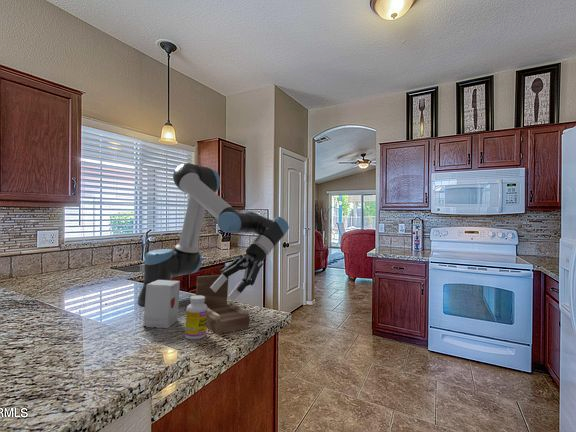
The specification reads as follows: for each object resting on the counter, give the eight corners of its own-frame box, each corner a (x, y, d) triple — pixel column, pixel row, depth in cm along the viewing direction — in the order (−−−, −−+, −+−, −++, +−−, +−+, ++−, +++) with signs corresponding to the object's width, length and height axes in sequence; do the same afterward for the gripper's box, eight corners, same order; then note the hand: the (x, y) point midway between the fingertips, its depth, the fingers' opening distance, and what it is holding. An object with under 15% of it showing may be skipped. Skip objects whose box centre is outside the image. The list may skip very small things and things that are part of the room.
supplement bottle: (198, 341, 92) (200, 300, 92) (180, 338, 93) (182, 298, 94) (209, 334, 98) (211, 296, 98) (192, 331, 100) (194, 293, 100)
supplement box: (168, 329, 101) (170, 285, 101) (142, 327, 101) (145, 284, 101) (178, 320, 110) (180, 280, 110) (155, 318, 110) (157, 279, 110)
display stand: (194, 317, 113) (196, 276, 114) (224, 312, 122) (226, 274, 122) (216, 334, 98) (219, 286, 99) (249, 326, 107) (251, 283, 107)
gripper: (285, 260, 102) (246, 310, 93) (247, 252, 122) (212, 293, 112) (273, 245, 99) (232, 295, 89) (237, 240, 118) (199, 280, 108)
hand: (221, 294), depth 100 cm, fingers open, 13 cm apart
